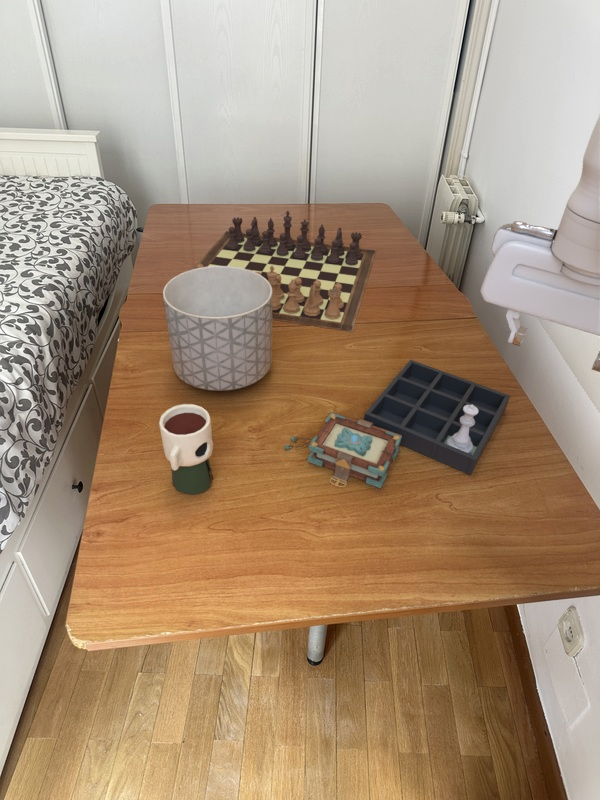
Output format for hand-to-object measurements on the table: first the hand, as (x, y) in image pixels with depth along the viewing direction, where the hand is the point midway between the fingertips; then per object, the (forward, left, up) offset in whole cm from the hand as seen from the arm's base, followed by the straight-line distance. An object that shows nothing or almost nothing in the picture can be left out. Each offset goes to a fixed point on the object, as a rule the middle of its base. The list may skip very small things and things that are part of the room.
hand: (555, 355), depth 62 cm
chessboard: (+70, -47, -29) cm, 89 cm away
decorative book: (+25, +2, -29) cm, 39 cm away
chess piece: (+9, -10, -28) cm, 31 cm away
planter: (+55, -5, -29) cm, 62 cm away
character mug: (+41, +20, -29) cm, 54 cm away
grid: (+15, -16, -29) cm, 36 cm away
